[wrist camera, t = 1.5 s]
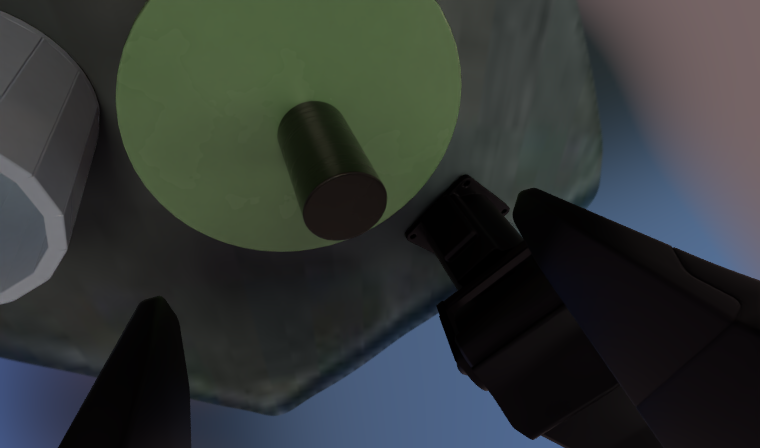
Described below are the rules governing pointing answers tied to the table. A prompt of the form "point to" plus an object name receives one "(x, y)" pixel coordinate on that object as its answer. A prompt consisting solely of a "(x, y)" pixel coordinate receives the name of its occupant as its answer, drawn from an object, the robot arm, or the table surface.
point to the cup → (40, 153)
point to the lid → (287, 113)
